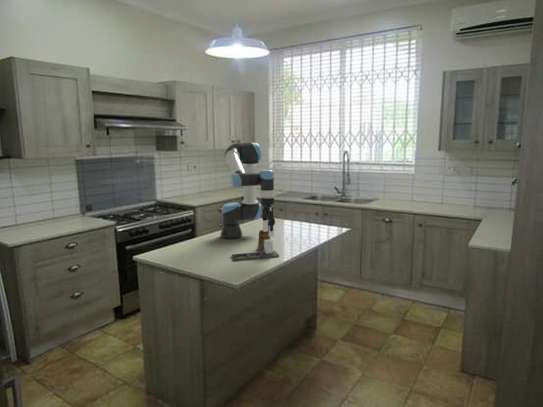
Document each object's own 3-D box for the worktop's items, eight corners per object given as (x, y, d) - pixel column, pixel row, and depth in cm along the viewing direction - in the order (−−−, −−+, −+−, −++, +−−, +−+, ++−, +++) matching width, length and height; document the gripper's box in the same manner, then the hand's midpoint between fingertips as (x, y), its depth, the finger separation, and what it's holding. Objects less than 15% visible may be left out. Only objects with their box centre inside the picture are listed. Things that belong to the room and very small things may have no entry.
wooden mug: (279, 246, 244) (279, 218, 242) (265, 251, 234) (264, 222, 232) (268, 244, 250) (268, 216, 247) (254, 248, 240) (253, 220, 237)
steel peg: (264, 254, 228) (264, 239, 226) (271, 254, 229) (270, 239, 227) (266, 256, 224) (265, 241, 222) (272, 256, 225) (272, 241, 223)
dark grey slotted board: (231, 256, 226) (231, 254, 225) (274, 252, 232) (274, 250, 232) (234, 261, 217) (233, 259, 217) (278, 256, 223) (278, 254, 223)
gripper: (256, 195, 232) (257, 229, 235) (266, 200, 208) (267, 239, 211) (268, 194, 234) (269, 228, 237) (279, 199, 210) (280, 238, 213)
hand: (268, 233), depth 224 cm, fingers open, 13 cm apart
